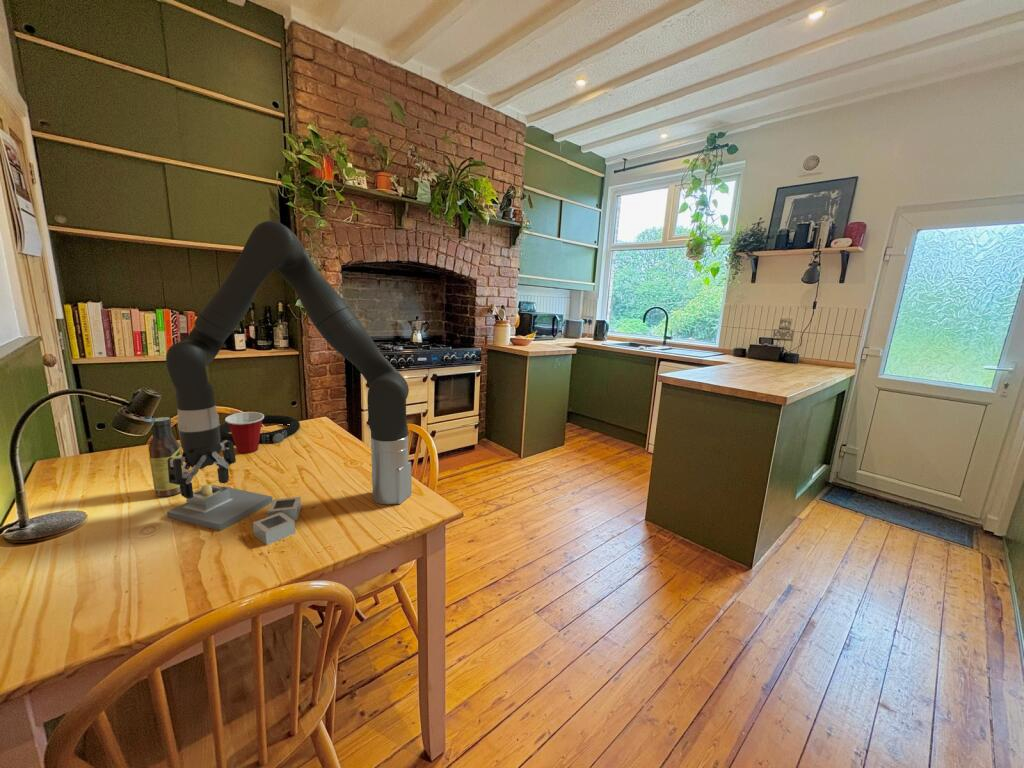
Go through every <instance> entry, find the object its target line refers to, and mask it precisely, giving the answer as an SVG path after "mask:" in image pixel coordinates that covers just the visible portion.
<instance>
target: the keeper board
mask: <svg viewBox="0 0 1024 768" xmlns="http://www.w3.org/2000/svg"><path fill="white" fill-rule="evenodd" d="M210 484H211V483H210ZM210 484H204V485H202V486H200V489H202V496H208V495H210V494H213V493H212V485H213V484H212V485H210ZM222 487H226V488H229V492H230V500H228V501H226V502H224V503H222V504H220V505H218V506H215V507H213V508H211V509H209V510H207V511H205V510H201V509H197V508H193V507H189V506H187V502H185V503H184V504H180V505H178V506H176V507H174V508H172V509H169V510H167V511H166V515H167V516H166V517H167V518H168V519H173V520H177V521H180V522H185V523H189V524H193V525H196V526H200V527H204V528H209V529H213V530H216V531H222V530H224V529H227V528H228V527H229V526H232V525H233V524H235V523H238V522H239V521H241V520H243V519H245V518H247V517H248V516H251V515H252V514H253V513H256V512H257V511H259V510H260V509H263V508H264V507H267V506H269V505H271V503H272V501H273V496H272V495H271V496H270V495H267V494H261V493H259V492H258V493H257V492H252V491H247V490H243V489H238V488H233V487H230V486H222Z"/></svg>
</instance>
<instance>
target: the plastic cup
mask: <svg viewBox="0 0 1024 768" xmlns="http://www.w3.org/2000/svg"><path fill="white" fill-rule="evenodd" d="M264 416H265V414H264V413H262V412H256V411H245V412H244V411H243V412H237V413H232V414H230V415H228V416H226V417H225V419H224V421H225V423H228V426H229V428H230V430H231V431H230V433H231V434H232V437H233V440H234V443H235V444H234V446H235V448H236V451H237V453H238V454H243V455H244V454H251V453H255V452H257V451H258V450H259V445H260V443H259V439H260V433H261V429H262V425H263V424H262V420H263V418H264Z"/></svg>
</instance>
